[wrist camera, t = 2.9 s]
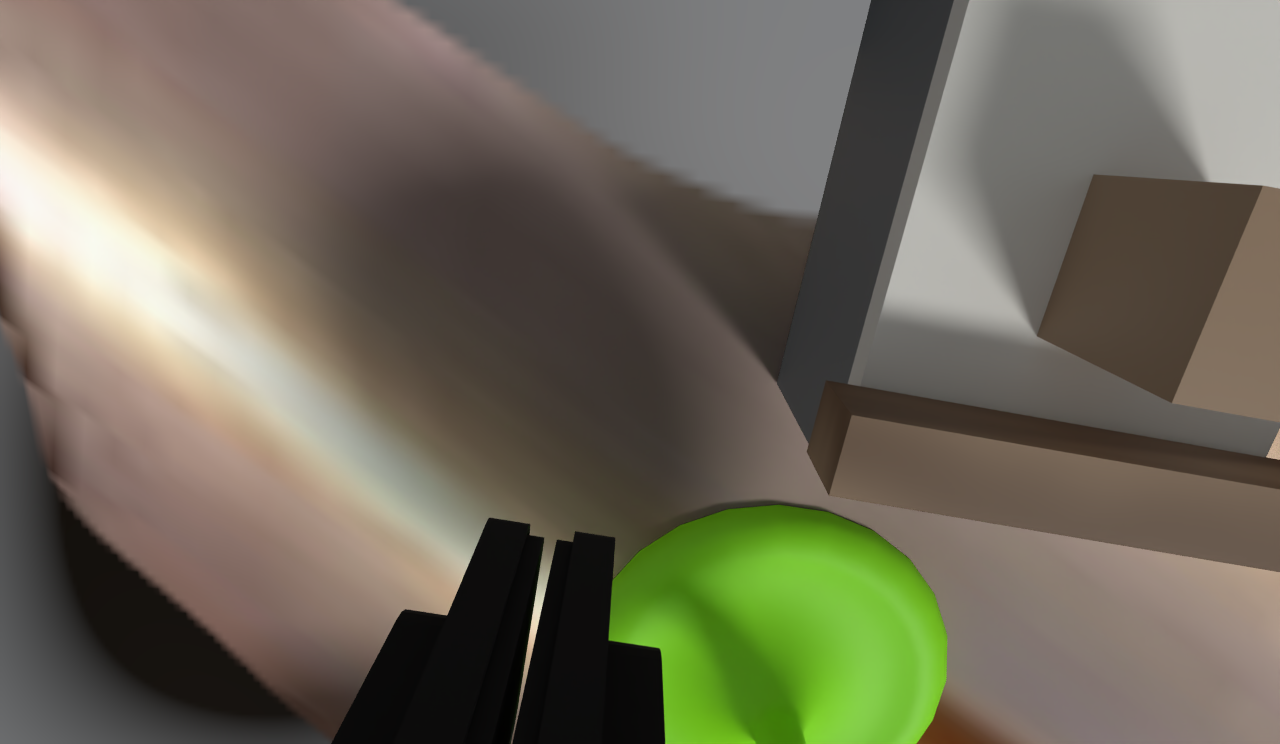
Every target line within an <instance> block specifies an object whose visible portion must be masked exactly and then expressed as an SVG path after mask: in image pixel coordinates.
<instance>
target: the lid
mask: <svg viewBox="0 0 1280 744" xmlns="http://www.w3.org/2000/svg"><path fill="white" fill-rule="evenodd" d="M848 384H850V385H856V386H862V387H867V388H873V389H879V390H884V391H890V392H896V393H902V394H907V395H913V396H919V397H924V398H930V399H936V400H941V401H947V402H953V403H958V404H964V405H970V406H975V407H981V408H987V409H993V410H998V411H1004V412H1010V413H1015V414H1021V415H1027V416H1032V417H1038V418H1044V419H1049V420H1055V421H1061V422H1067V423H1072V424H1078V425H1084V426H1089V427H1095V428H1101V429H1106V430H1112V431H1118V432H1123V433H1129V434H1135V435H1141V436H1146V437H1152V438H1158V439H1163V440H1169V441H1175V442H1180V443H1186V444H1192V445H1197V446H1203V447H1209V448H1214V449H1220V450H1226V451H1232V452H1237V453H1243V454H1249V455H1254V456H1260V457H1266V456H1267V454H1268V452H1269V450H1270V447H1271V445H1272V443H1273V441H1274V439H1275V437H1276V435H1277V433H1278V431H1279V428H1280V0H954V2H953V5H952V9H951V13H950V16H949V20H948V23H947V27H946V31H945V34H944V38H943V41H942V45H941V49H940V52H939V56H938V60H937V63H936V67H935V70H934V74H933V78H932V81H931V85H930V88H929V92H928V96H927V99H926V103H925V106H924V110H923V114H922V117H921V121H920V124H919V128H918V132H917V135H916V139H915V143H914V146H913V150H912V153H911V157H910V161H909V164H908V168H907V171H906V175H905V179H904V182H903V186H902V189H901V193H900V197H899V200H898V204H897V207H896V211H895V215H894V218H893V222H892V226H891V229H890V233H889V236H888V240H887V244H886V247H885V251H884V254H883V258H882V262H881V265H880V269H879V272H878V276H877V280H876V283H875V287H874V290H873V294H872V298H871V301H870V305H869V308H868V312H867V316H866V319H865V323H864V327H863V330H862V334H861V337H860V341H859V345H858V348H857V352H856V355H855V359H854V363H853V366H852V370H851V373H850V377H849V381H848Z"/></svg>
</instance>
